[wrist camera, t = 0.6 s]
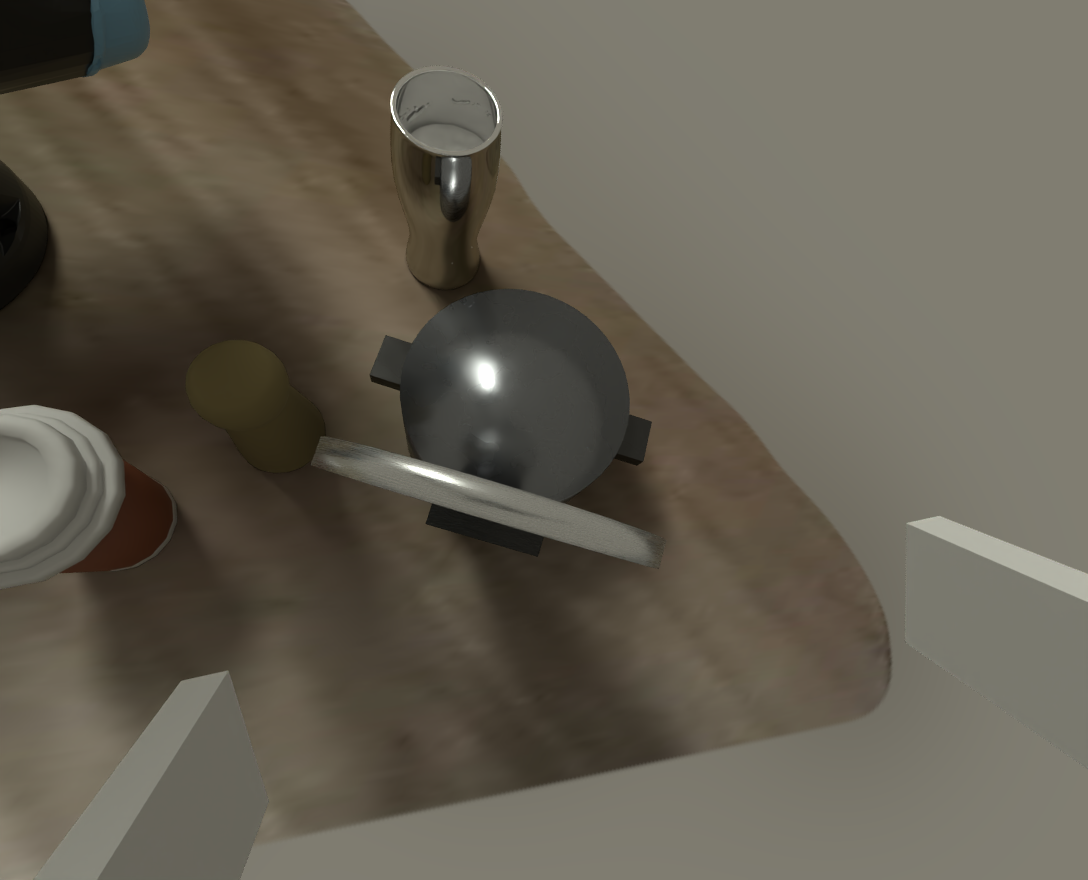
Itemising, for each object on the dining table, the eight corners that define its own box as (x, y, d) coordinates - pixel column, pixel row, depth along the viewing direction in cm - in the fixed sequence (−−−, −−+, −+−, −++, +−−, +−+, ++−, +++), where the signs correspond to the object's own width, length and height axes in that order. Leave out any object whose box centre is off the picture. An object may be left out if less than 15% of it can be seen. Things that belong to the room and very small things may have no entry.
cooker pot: (593, 568, 42) (629, 561, 34) (345, 495, 40) (324, 470, 32) (636, 381, 47) (675, 339, 39) (417, 308, 45) (414, 249, 37)
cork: (343, 428, 41) (313, 369, 31) (281, 490, 39) (227, 449, 29) (280, 377, 41) (229, 302, 31) (216, 436, 39) (138, 377, 29)
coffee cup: (62, 617, 35) (-119, 624, 23) (27, 484, 36) (-156, 430, 25) (217, 557, 37) (122, 538, 26) (178, 436, 39) (73, 367, 28)
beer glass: (383, 267, 45) (361, 115, 31) (428, 209, 48) (426, 43, 34) (458, 309, 46) (469, 178, 31) (499, 249, 48) (526, 102, 34)
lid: (609, 531, 34) (599, 566, 34) (361, 456, 33) (348, 492, 32) (734, 554, 18) (719, 621, 18) (263, 411, 17) (236, 481, 16)
